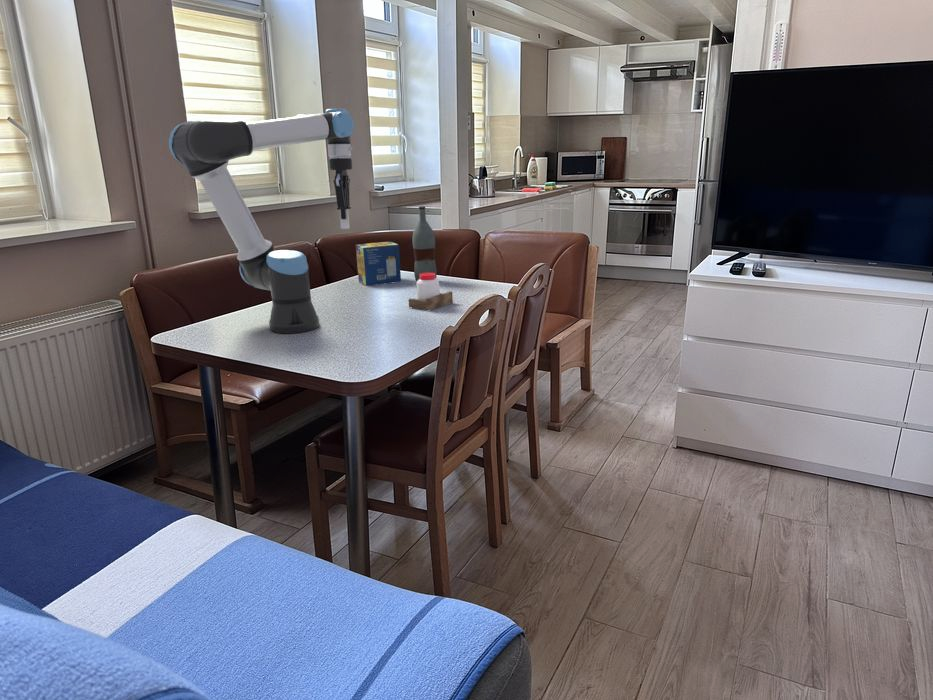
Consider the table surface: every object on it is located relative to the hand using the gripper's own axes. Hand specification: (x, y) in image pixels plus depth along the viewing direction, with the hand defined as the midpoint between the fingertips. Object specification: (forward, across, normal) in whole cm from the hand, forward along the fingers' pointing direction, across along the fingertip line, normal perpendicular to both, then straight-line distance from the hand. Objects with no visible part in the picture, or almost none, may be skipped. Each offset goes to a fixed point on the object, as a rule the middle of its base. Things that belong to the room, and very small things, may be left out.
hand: (345, 228), depth 228 cm
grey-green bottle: (+26, +35, -23) cm, 49 cm away
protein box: (+26, +38, -3) cm, 46 cm away
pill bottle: (+26, -7, -29) cm, 40 cm away
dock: (+26, -6, -29) cm, 39 cm away
